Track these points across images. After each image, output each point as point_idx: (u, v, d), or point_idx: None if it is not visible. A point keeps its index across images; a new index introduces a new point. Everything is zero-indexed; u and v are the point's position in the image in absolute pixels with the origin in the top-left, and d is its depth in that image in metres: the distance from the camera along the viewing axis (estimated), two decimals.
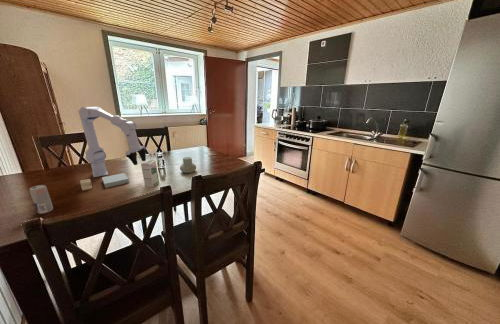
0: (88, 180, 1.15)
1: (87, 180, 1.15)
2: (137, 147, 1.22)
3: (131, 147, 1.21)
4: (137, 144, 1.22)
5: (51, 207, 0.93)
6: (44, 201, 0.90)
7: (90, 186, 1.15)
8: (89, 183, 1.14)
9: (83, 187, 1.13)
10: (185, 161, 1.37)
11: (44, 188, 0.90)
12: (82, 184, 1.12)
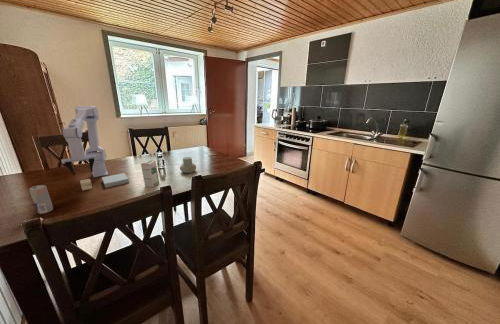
0: (88, 180, 1.15)
1: (87, 180, 1.15)
2: (76, 157, 1.07)
3: (71, 155, 1.08)
4: (76, 154, 1.07)
5: (51, 207, 0.93)
6: (44, 201, 0.90)
7: (90, 186, 1.15)
8: (89, 183, 1.14)
9: (83, 187, 1.13)
10: (185, 161, 1.37)
11: (44, 188, 0.90)
12: (82, 184, 1.12)
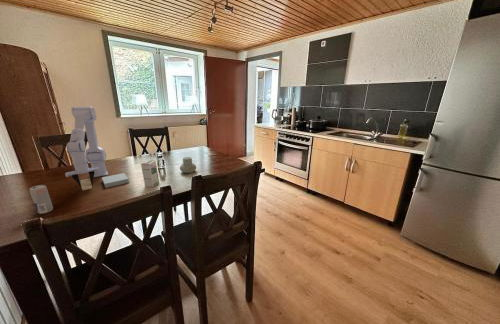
0: (88, 180, 1.15)
1: (87, 180, 1.15)
2: (79, 170, 1.10)
3: (75, 168, 1.10)
4: (80, 167, 1.10)
5: (51, 207, 0.93)
6: (44, 201, 0.90)
7: (90, 186, 1.15)
8: (89, 183, 1.14)
9: (83, 187, 1.13)
10: (185, 161, 1.37)
11: (44, 188, 0.90)
12: (82, 184, 1.12)
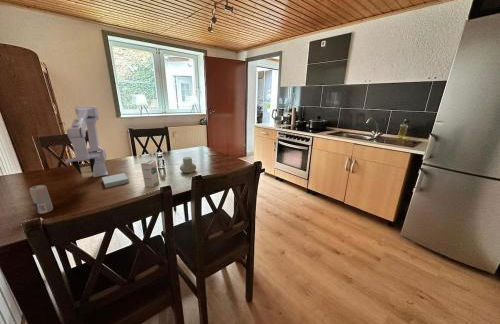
0: (88, 167, 1.14)
1: (87, 168, 1.13)
2: (79, 157, 1.09)
3: (75, 155, 1.09)
4: (80, 154, 1.08)
5: (51, 207, 0.93)
6: (44, 201, 0.90)
7: (90, 173, 1.14)
8: (89, 170, 1.13)
9: (83, 174, 1.12)
10: (185, 161, 1.37)
11: (44, 188, 0.90)
12: (82, 171, 1.11)
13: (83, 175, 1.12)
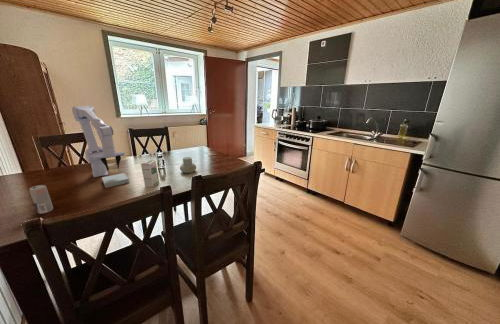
0: (115, 164, 1.22)
1: (114, 164, 1.21)
2: (108, 154, 1.16)
3: (103, 152, 1.17)
4: (108, 151, 1.16)
5: (51, 207, 0.93)
6: (44, 201, 0.90)
7: (117, 169, 1.21)
8: (116, 166, 1.21)
9: (110, 170, 1.19)
10: (185, 161, 1.37)
11: (44, 188, 0.90)
12: (110, 167, 1.19)
13: (110, 171, 1.19)
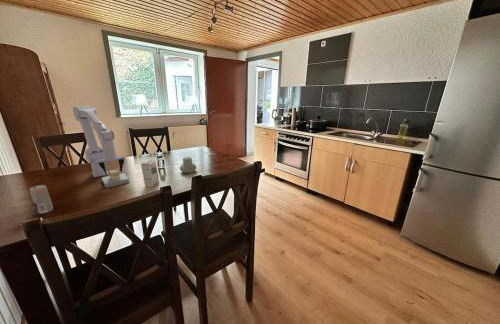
0: (116, 170, 1.23)
1: (115, 171, 1.23)
2: (108, 158, 1.17)
3: (104, 156, 1.18)
4: (109, 155, 1.17)
5: (51, 207, 0.93)
6: (44, 201, 0.90)
7: (118, 176, 1.23)
8: (117, 173, 1.22)
9: (112, 177, 1.21)
10: (185, 161, 1.37)
11: (44, 188, 0.90)
12: (111, 174, 1.20)
13: (112, 178, 1.21)
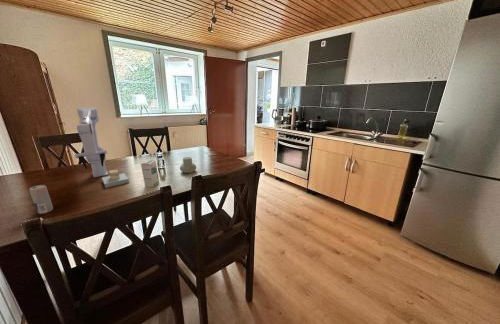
0: (116, 170, 1.23)
1: (115, 171, 1.23)
2: (88, 152, 1.14)
3: (84, 150, 1.15)
4: (89, 149, 1.14)
5: (51, 207, 0.93)
6: (44, 201, 0.90)
7: (118, 176, 1.23)
8: (117, 173, 1.22)
9: (112, 177, 1.21)
10: (185, 161, 1.37)
11: (44, 188, 0.90)
12: (111, 174, 1.20)
13: (111, 178, 1.21)
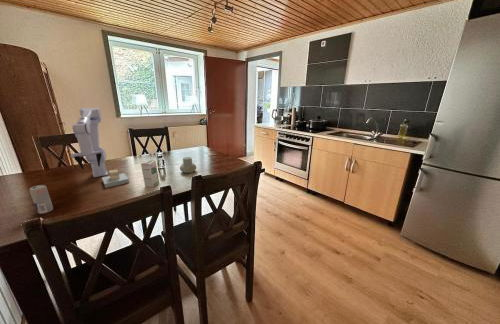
0: (116, 170, 1.23)
1: (115, 171, 1.23)
2: (84, 152, 1.14)
3: (80, 150, 1.15)
4: (85, 149, 1.14)
5: (51, 207, 0.93)
6: (44, 201, 0.90)
7: (118, 176, 1.23)
8: (117, 173, 1.22)
9: (112, 177, 1.21)
10: (185, 161, 1.37)
11: (44, 188, 0.90)
12: (111, 174, 1.21)
13: (111, 177, 1.21)
